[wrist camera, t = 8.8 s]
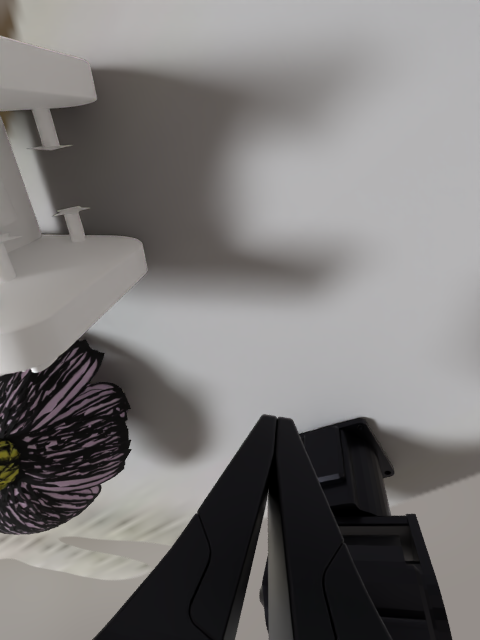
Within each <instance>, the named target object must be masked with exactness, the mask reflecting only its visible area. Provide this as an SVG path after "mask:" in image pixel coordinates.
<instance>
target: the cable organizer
mask: <svg viewBox="0 0 480 640" xmlns="http://www.w3.org/2000/svg"><path fill="white" fill-rule="evenodd" d="M96 100H97V95H96V91H95V86H94V81H93V77H92V72H91V67H90V63H89V62H88V61H86V60H84V59H81V58H78V57H75V56H71V55H68V54H64V53H60V52H57V51H53V50H50V49H46V48H42V47H39V46H35V45H32V44H28V43H25V42H21V41H17V40H14V39H10V38H7V37H3V36H0V111H15V110H32V112H33V115H34V119H35V122H36V125H37V129H38V132H39V135H40V138H41V142H42V145H43V147H35V148H26V149H39V150H55V149H59V148H63V147H68V146H72V145H62V146H61V145H60V144H59V140H58V137H57V133H56V130H55V126H54V123H53V119H52V116H51V112H50V108H65V107H74V106H80V105H85V104H89V103H92V102H94V101H96ZM85 209H89V208H81V207H80V206H76V207H71V208H67V209H62V210H58V211H57V212H60V213H58V214H56V215H54V216H58V215H63V214H64V217H65V221H66V224H67V227H68V230H69V234H70V235H42V234H41V230H40V227H39V225H38V222H37V219H36V216H35V213H34V210H33V207H32V205H31V202H30V199H29V196H28V193H27V190H26V187H25V184H24V182H23V179H22V176H21V173H20V170H19V167H18V164H17V161H16V159H15V156H14V153H13V150H12V147H11V144H10V141H9V138H8V136H7V133H6V130H5V127H4V124H3V121H2V118H1V116H0V376H2V375H5V374H10V373H15V372H20V371H22V372H25V371H26V370H27V369H31V370H32V372H33V373H38V372H41V371H43V370H45V369H46V368H48V367H49V366H50V365H51V364H52V363H53V362H54V361H55V360H56V359H57V358H58V356H60V355H61V354H63V353H64V352H65V351H66V350H67V349H68V348H69V347H71V346H72V345H73V344H74V343H75V342H76V341H77V340H78V339H79V338H80V337H81V336H82V335H83V334H84V333H85V332H86V331H87V330H88V329H89V328H90V327H91V326H92V325H93V324H94V323H95V322H96V321H97V320H98V319H100V318H101V317H102V316H103V315H104V314H105V313H106V312H107V311H108V310H109V309H110V308H111V307H112V306H113V305H114V304H115V303H116V302H117V301H118V300H119V299H120V298H121V297H122V296H123V295H124V294H125V293H126V292H127V291H129V290H130V289H131V288H132V287H133V286H134V285H135V284H136V283H137V282H138V281H139V280H140V279H141V278H142V277H143V276H144V275H145V274H146V273H147V270H148V269H147V263H146V258H145V253H144V248H143V243H142V242H141V241H140V240H138V239H135V238H131V237H126V236H115V235H85V233H84V229H83V226H82V222H81V219H80V215H79V211H81V210H85ZM52 217H53V216H52Z"/></svg>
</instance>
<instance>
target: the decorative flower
mask: <svg viewBox="0 0 480 640" xmlns="http://www.w3.org/2000/svg"><path fill="white" fill-rule="evenodd" d="M104 354H105V353H101V352H98V351H97V350H93V349H92V348H90V346H89V344H88V343H87V341H86V339H85V340H83V341H79V340H77V341H76V342H75V343H74V344H73V345H72V346H71V347H69V348H68V349H67V350H66V351H65V352H64V353H63V354H61V355H60V356H58V358H57V359H56V360H55V361H54V362H53V363H52V364H51V365H50V366H49V367H48V368H46V369H45V370H43V371H41V372H38V373H33V372H32V370H31V369H27V370H26V371H25V372H22V371H20V372H15V373H10V374H5V375H2V376H0V533H4V534H14V535H18V534H33V533H39V532H44V531H47V530H50V529H52V528H55V527H58V526H59V525H61V524H63V523H66V522H67V521H69V520H70V519H71V518H73V517H75V516H77V515H79V514H80V513H81V512H82V511H83V510H85V509H86V508H87V507H88V506H89V505H90V504H91V503H92V502H93V500H94V499H95V498H96V497H97V496H98V495H99V493H100V492H101V485H100V484H102V483H104V482H106V481H108V480H110V479H111V478H113V477H115V476H116V475H117V474H118V473H120V472H121V471H122V470H123V469H124V465H125V460H126V458H127V456H128V455H129V453H130V451H131V450H132V449H129V445H130V442H131V440H129V438H128V429H127V426H126V423H125V421H126V420H128V419H127V412H128V409H131V408H130V405H129V403H128V400H127V398H126V396H125V393H123V391H122V389H121V388H119V386H117V385H115V384H113V383H107V382H99V383H95V384H89V383H90V381H91V380H92V378H93V377H94V376H95V375H96V373H97V371H98V370H99V367H100V366H101V363H102V360H103V357H104Z"/></svg>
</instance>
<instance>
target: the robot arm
mask: <svg viewBox="0 0 480 640" xmlns="http://www.w3.org/2000/svg"><path fill="white" fill-rule="evenodd" d="M358 425H361V426H358ZM393 475H394V469H393V466H392V465H391V463H390V461H389V459H388V458H387V456H386V454H385V453H384V451H383V449H382V448H381V446H380V444H379V442H378V441H377V439H376V437H375V436H374V434H373V432H372V431H371V429H370V427H369V425H368V424H367V422H366V421H365V420H364V419H355V420H351V421H347V422H344V423H340V424H336V425H333V426H329V427H325V428H322V429H318V430H314V431H311V432H307V433H303V434H300V435H299V433H298V431H297V428H296V426H295V424H294V422H293V420H292V419H290V418H284V417H278V418H277V417H276V416H272V415H266V414H264V415H262V416H261V417H260V419H259V420H258V422H257V423H256V425H255V426H254V428H253V429H252V431H251V432H250V434H249V435H248V437H247V438H246V440H245V441H244V442H243V444H242V445H241V447H240V448H239V450H238V451H237V453H236V454H235V456H234V457H233V459H232V460H231V462H230V463H229V465H228V466H227V468H226V469H225V471H224V472H223V474H222V475H221V477H220V478H219V480H218V481H217V483H216V484H215V486H214V487H213V489H212V490H211V491H210V493H209V494H208V496H207V497H206V499H205V500H204V502H203V503H202V505H201V506H200V508H199V509H198V511H197V513H196V514H195V515H194V516H193V518H192V519H191V521H190V522H189V524H188V525H187V527H186V528H185V530H184V531H183V532H182V534H181V535H180V537H179V538H178V539H177V541H176V542H175V543H174V545H173V546H172V548H171V549H170V550H169V551H168V553H167V554H166V555H165V556H164V558H163V559H162V560H161V561H160V562H159V564H158V565H157V566H156V567H155V569H154V570H153V571H152V572H151V573H150V574H149V576H148V577H147V578H146V579H145V580H144V581H143V583H142V584H141V585H140V586H139V587H138V589H137V590H136V591H135V592H134V593H133V594H132V596H131V597H130V598H129V599H128V600H127V602H126V603H125V604H124V605H123V606H122V607H121V608H120V610H119V611H118V612H117V613H116V614H115V615H114V617H113V618H112V619H111V620H110V621H109V622H108V623H107V625H106V626H105V627H104V628H103V629H102V630H101V631H100V632H99V633H98V634H97V636H96V637H95V638H94V639H92V640H235V636H236V632H237V628H238V623H239V619H240V615H241V610H242V606H243V602H244V597H245V593H246V588H247V584H248V580H249V576H250V571H251V567H252V562H253V558H254V554H255V550H256V545H257V541H258V536H259V532H260V528H261V524H262V519H263V515H264V511H265V506H266V501H267V496H268V557H267V562H266V567H265V571H264V576H263V581H262V586H261V589H260V602H261V603H262V605H263V607H264V609H265V619H266V626H267V630H268V634H269V640H452V636H451V632H450V628H449V624H448V619H447V615H446V611H445V607H444V604H443V600H442V596H441V593H440V589H439V586H438V582H437V579H436V576H435V573H434V570H433V567H432V564H431V561H430V557H429V554H428V551H427V548H426V545H425V542H424V539H423V536H422V533H421V530H420V527H419V524H418V521H417V517H416V514H406V516H391V513H390V509H389V504H388V499H387V495H386V490H385V486H384V481H383V478H385V477H390V476H393ZM268 489H269V491H268Z"/></svg>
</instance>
